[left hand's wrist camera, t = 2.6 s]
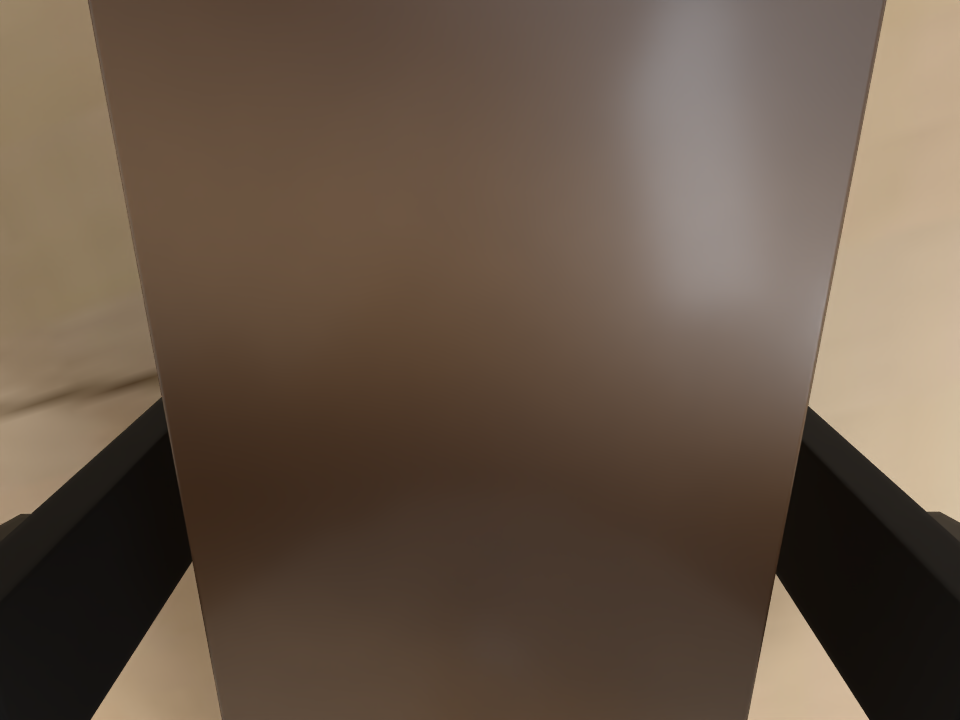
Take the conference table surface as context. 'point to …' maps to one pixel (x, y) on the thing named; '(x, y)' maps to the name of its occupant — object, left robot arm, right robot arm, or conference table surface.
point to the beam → (486, 335)
